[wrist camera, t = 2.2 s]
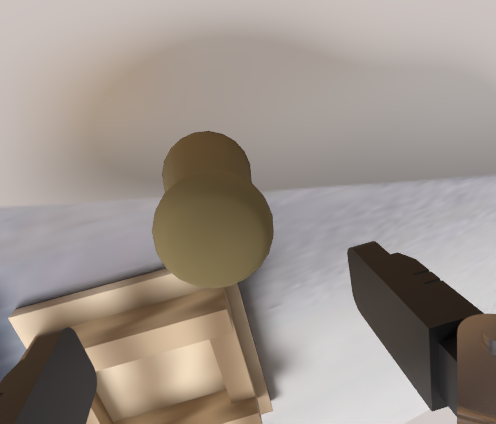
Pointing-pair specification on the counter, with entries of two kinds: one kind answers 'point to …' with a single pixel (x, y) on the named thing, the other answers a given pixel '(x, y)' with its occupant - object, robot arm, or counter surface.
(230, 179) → the olive pepper mill
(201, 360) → the cradle
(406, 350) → the robot arm
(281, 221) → the counter surface
